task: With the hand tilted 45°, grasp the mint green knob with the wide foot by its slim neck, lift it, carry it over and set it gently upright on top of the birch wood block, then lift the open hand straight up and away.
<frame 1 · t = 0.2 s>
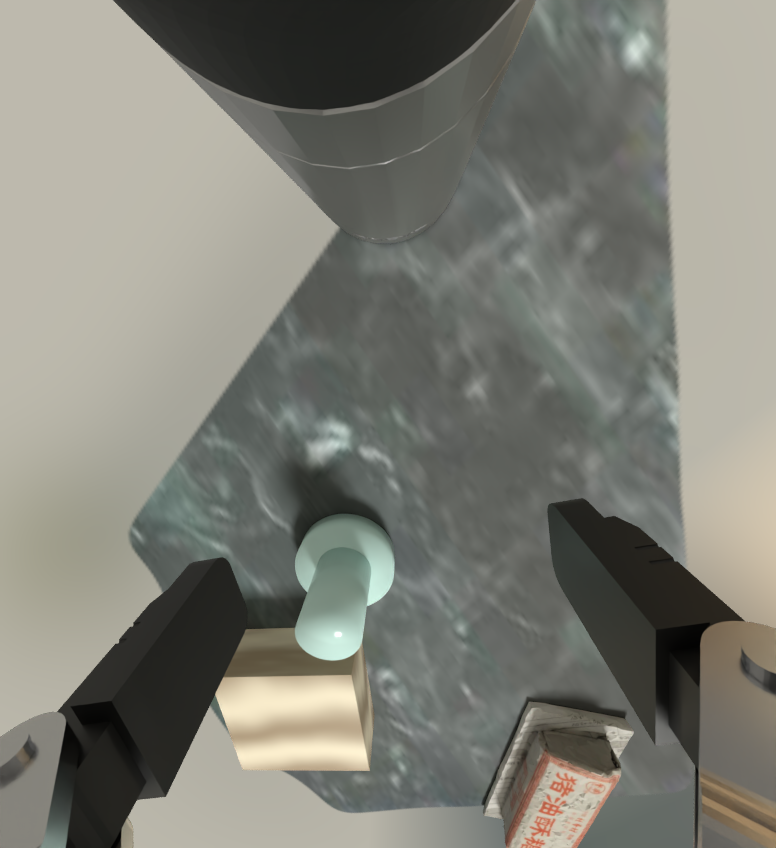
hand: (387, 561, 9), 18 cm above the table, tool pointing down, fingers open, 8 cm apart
block: (308, 670, 36), on the table
mint green knob: (348, 553, 31), on the table
packaged product: (547, 758, 39), on the table
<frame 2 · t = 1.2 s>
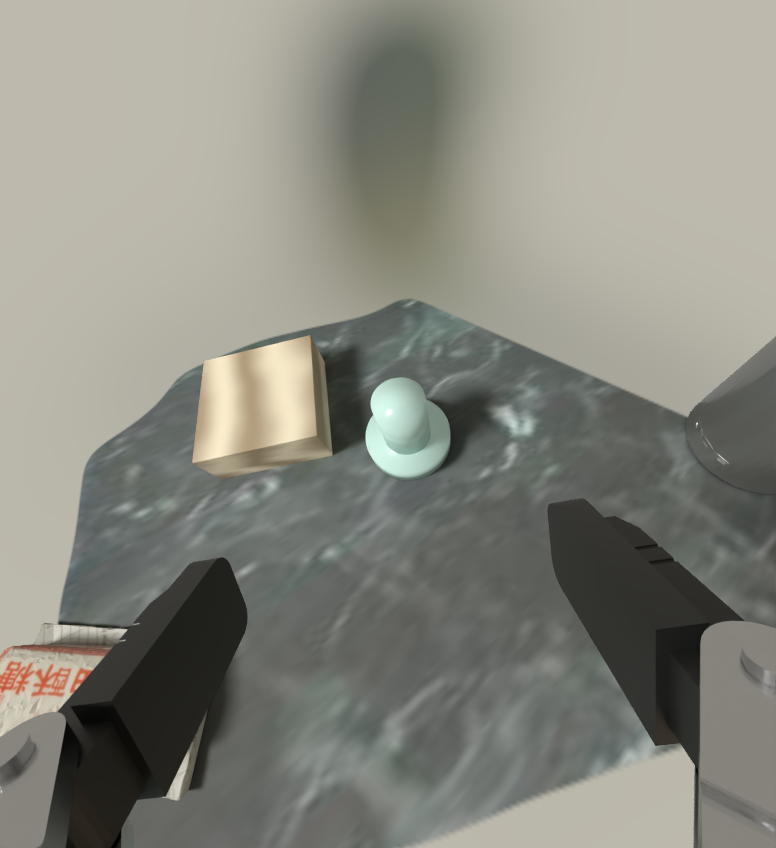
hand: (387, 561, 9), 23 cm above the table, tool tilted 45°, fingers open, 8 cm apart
block: (277, 418, 40), on the table
mint green knob: (409, 441, 36), on the table
packaged product: (117, 696, 31), on the table
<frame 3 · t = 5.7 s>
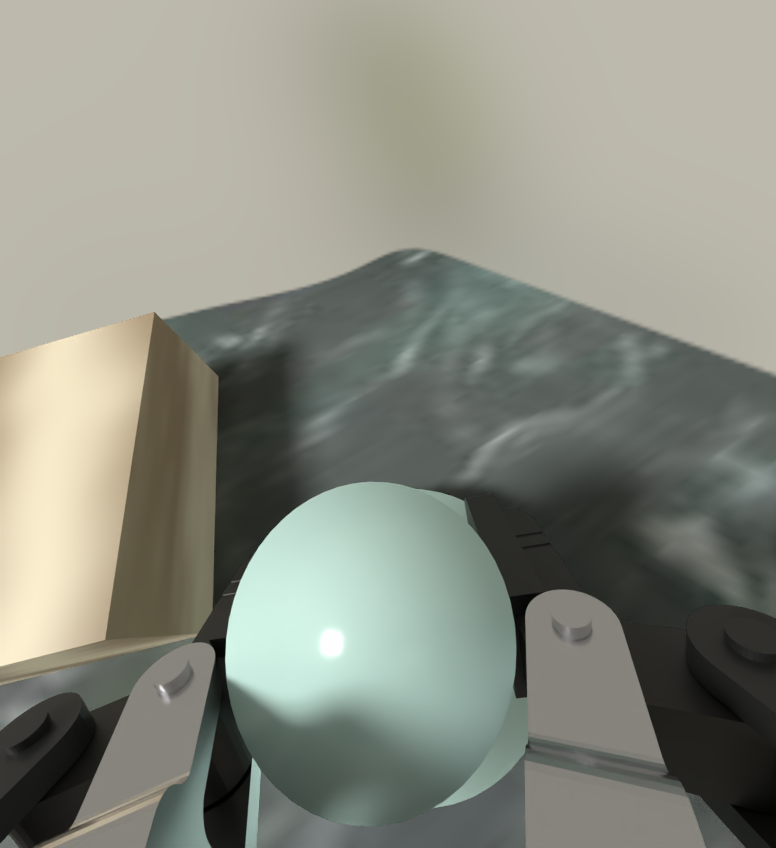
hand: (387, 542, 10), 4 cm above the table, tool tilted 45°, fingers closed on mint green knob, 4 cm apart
block: (97, 516, 17), on the table
mint green knob: (415, 620, 12), on the table, touching gripper
when the fingers open (9 cm above the table, at t = 11.5 s): mint green knob stays where it is, resting on block.
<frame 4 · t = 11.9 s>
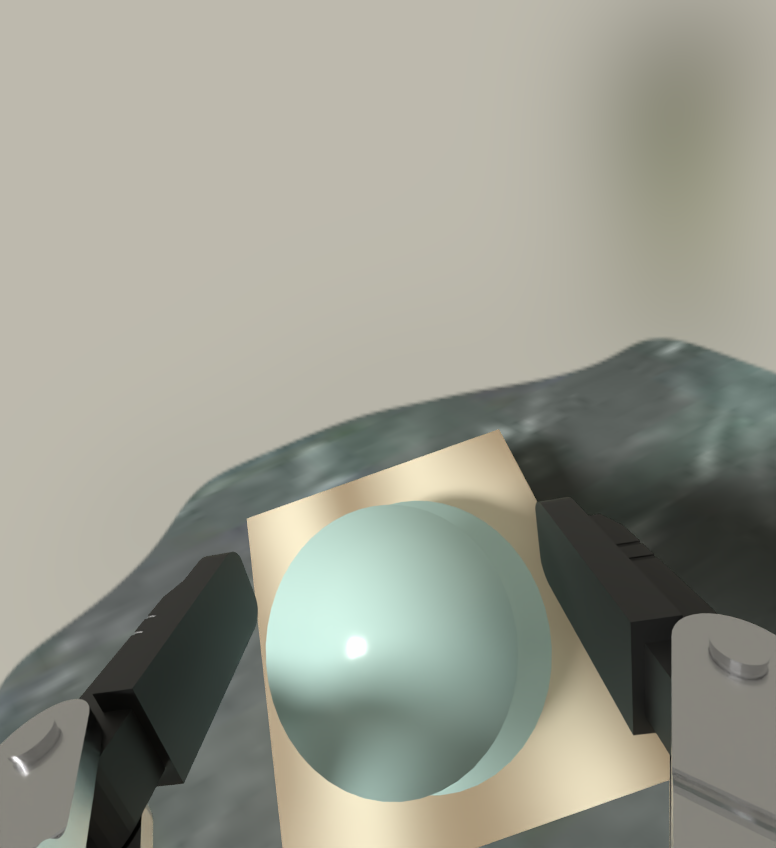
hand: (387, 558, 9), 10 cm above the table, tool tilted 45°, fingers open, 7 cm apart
block: (426, 617, 18), on the table, touching mint green knob
mint green knob: (422, 623, 13), point 4 cm above the table, touching block
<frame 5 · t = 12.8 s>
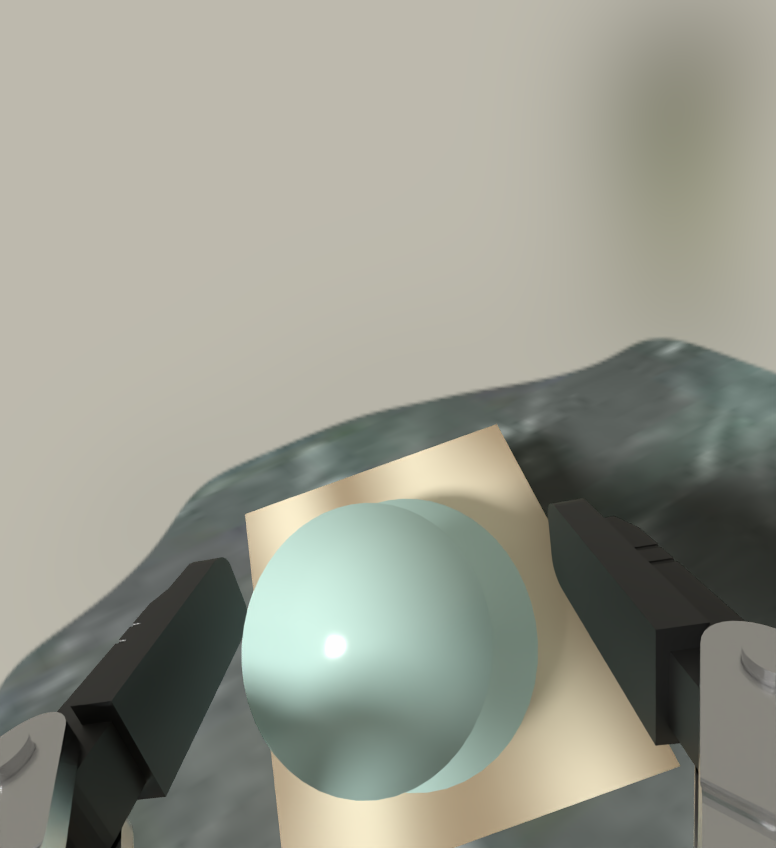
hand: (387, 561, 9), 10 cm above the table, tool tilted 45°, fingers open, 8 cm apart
block: (425, 613, 18), on the table, touching mint green knob
mint green knob: (411, 621, 13), point 4 cm above the table, touching block
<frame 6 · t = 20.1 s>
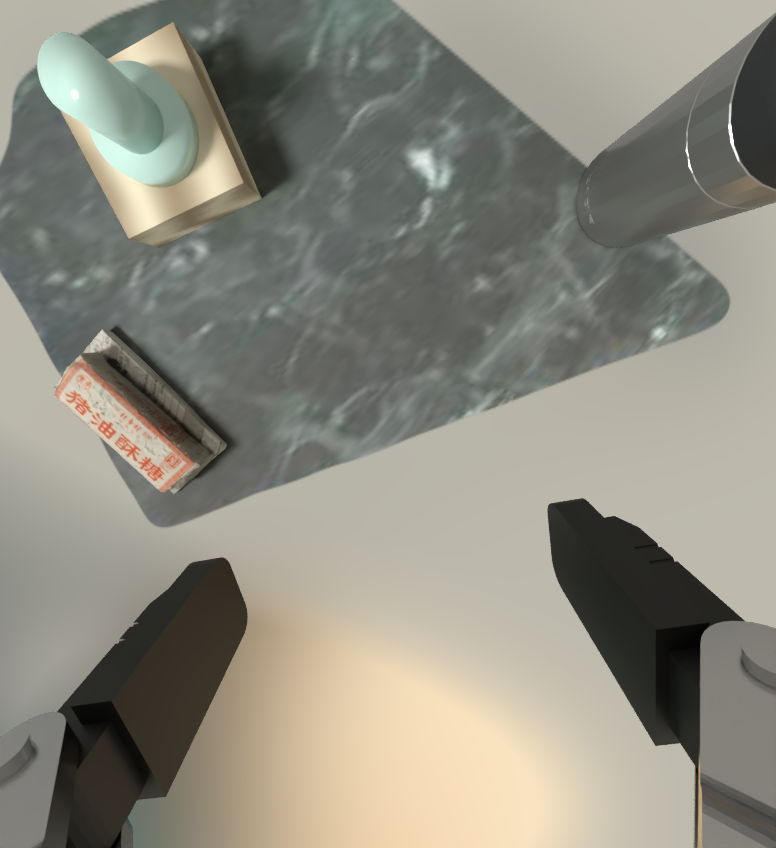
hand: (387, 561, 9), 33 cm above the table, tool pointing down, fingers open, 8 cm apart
block: (182, 162, 36), on the table, touching mint green knob
mint green knob: (152, 134, 31), point 4 cm above the table, touching block
packaged product: (149, 413, 44), on the table
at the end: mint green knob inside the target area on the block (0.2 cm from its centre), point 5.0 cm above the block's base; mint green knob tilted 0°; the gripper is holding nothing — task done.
